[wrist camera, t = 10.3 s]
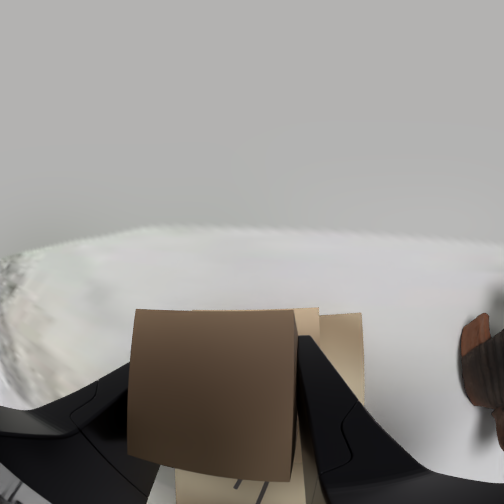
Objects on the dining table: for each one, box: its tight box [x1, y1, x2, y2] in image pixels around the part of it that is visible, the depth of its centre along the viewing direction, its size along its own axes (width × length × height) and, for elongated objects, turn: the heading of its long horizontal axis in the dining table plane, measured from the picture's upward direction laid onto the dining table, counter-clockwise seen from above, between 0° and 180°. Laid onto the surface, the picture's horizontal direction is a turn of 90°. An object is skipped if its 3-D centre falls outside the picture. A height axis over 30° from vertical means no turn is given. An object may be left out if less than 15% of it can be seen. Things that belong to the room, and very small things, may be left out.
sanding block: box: [127, 307, 320, 482], centre depth 9 cm, size 6×5×9 cm
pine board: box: [175, 313, 364, 504], centre depth 12 cm, size 15×10×2 cm, turn 179°
